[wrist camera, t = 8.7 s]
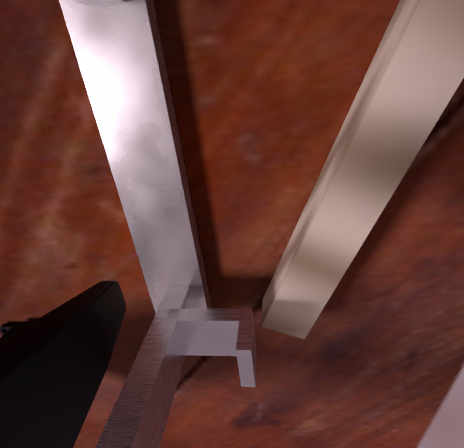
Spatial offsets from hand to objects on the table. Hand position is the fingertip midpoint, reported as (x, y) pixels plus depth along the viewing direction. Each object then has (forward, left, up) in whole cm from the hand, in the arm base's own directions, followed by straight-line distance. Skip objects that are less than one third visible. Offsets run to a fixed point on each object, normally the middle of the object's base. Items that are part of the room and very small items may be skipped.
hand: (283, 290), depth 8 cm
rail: (0, -5, -11) cm, 12 cm away
